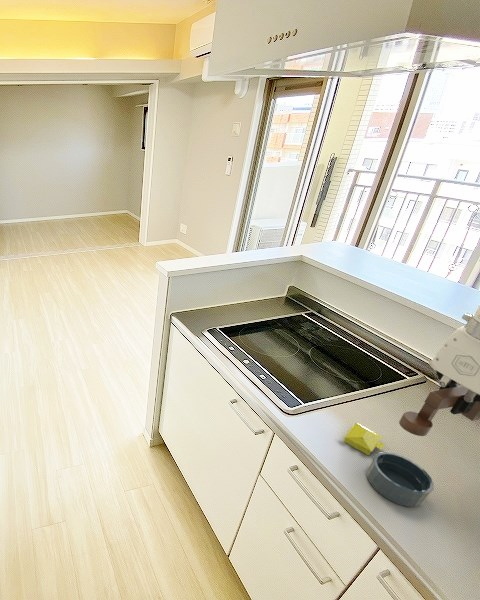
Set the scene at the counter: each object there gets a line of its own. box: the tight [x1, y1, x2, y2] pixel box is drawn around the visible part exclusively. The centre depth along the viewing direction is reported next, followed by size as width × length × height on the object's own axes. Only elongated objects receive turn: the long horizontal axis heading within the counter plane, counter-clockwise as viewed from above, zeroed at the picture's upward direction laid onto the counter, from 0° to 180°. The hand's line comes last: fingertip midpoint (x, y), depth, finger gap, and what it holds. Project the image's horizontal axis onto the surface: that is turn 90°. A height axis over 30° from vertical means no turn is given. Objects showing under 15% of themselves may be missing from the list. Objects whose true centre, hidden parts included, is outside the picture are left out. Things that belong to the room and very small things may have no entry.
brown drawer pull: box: [398, 385, 480, 437], centre depth 67 cm, size 17×4×9 cm, turn 99°
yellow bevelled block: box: [343, 422, 390, 456], centre depth 82 cm, size 10×9×3 cm
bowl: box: [365, 451, 435, 508], centre depth 71 cm, size 10×10×5 cm
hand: (449, 406), depth 67 cm, fingers closed on brown drawer pull, 2 cm apart
